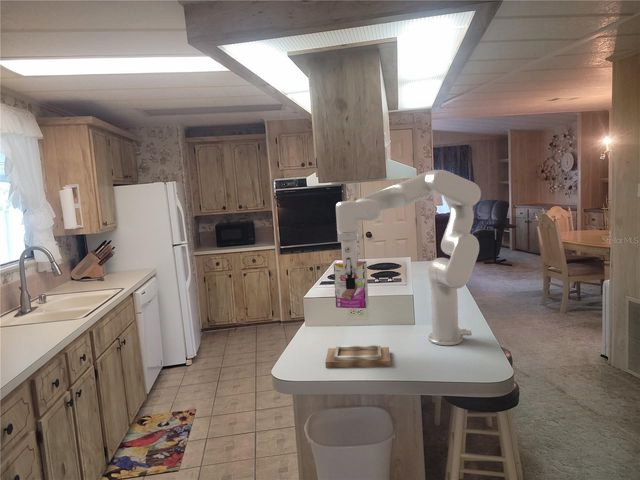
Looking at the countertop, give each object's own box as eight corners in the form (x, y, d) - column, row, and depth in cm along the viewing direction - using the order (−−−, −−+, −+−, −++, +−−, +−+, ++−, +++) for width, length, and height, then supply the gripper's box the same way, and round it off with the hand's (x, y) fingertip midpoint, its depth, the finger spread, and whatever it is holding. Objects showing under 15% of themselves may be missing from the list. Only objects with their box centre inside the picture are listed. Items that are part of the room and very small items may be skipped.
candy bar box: (335, 308, 154) (332, 263, 152) (339, 304, 159) (336, 260, 157) (366, 309, 151) (363, 263, 149) (369, 304, 156) (366, 260, 154)
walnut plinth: (388, 352, 157) (388, 343, 156) (390, 366, 145) (390, 357, 145) (328, 353, 159) (328, 345, 159) (325, 367, 147) (325, 358, 147)
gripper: (357, 239, 143) (360, 292, 145) (360, 232, 160) (362, 280, 162) (335, 240, 144) (338, 293, 146) (339, 233, 161) (343, 281, 163)
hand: (351, 286), depth 154 cm, fingers closed on candy bar box, 5 cm apart
